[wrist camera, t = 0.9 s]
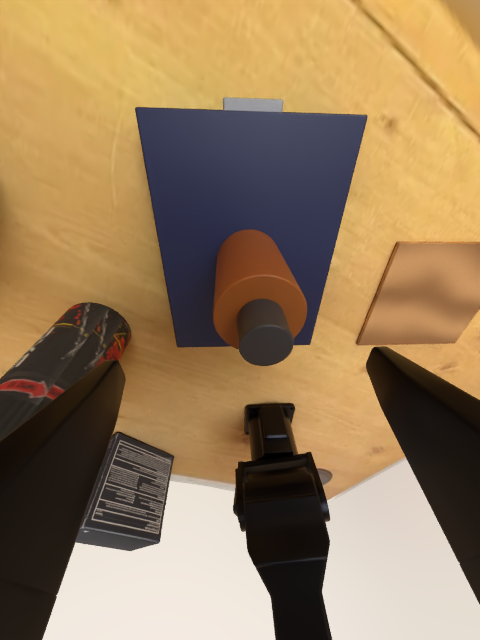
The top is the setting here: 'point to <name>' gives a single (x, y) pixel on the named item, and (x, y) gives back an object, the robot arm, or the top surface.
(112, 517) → the small box
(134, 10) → the top surface
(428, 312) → the coaster
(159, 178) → the case
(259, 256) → the bottle
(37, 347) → the deodorant
